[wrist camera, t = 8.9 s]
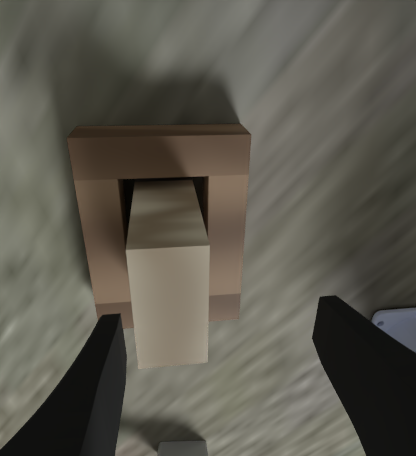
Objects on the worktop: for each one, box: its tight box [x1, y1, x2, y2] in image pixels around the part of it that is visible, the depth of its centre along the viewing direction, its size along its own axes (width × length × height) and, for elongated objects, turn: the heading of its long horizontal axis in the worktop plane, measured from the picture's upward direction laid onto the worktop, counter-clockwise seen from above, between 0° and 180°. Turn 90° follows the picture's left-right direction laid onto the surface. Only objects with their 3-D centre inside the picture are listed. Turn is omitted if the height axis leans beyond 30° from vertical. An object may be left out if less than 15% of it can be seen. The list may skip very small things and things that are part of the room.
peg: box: [126, 177, 210, 369], centre depth 18 cm, size 3×6×8 cm, turn 179°
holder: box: [67, 124, 251, 329], centre depth 20 cm, size 11×8×2 cm
